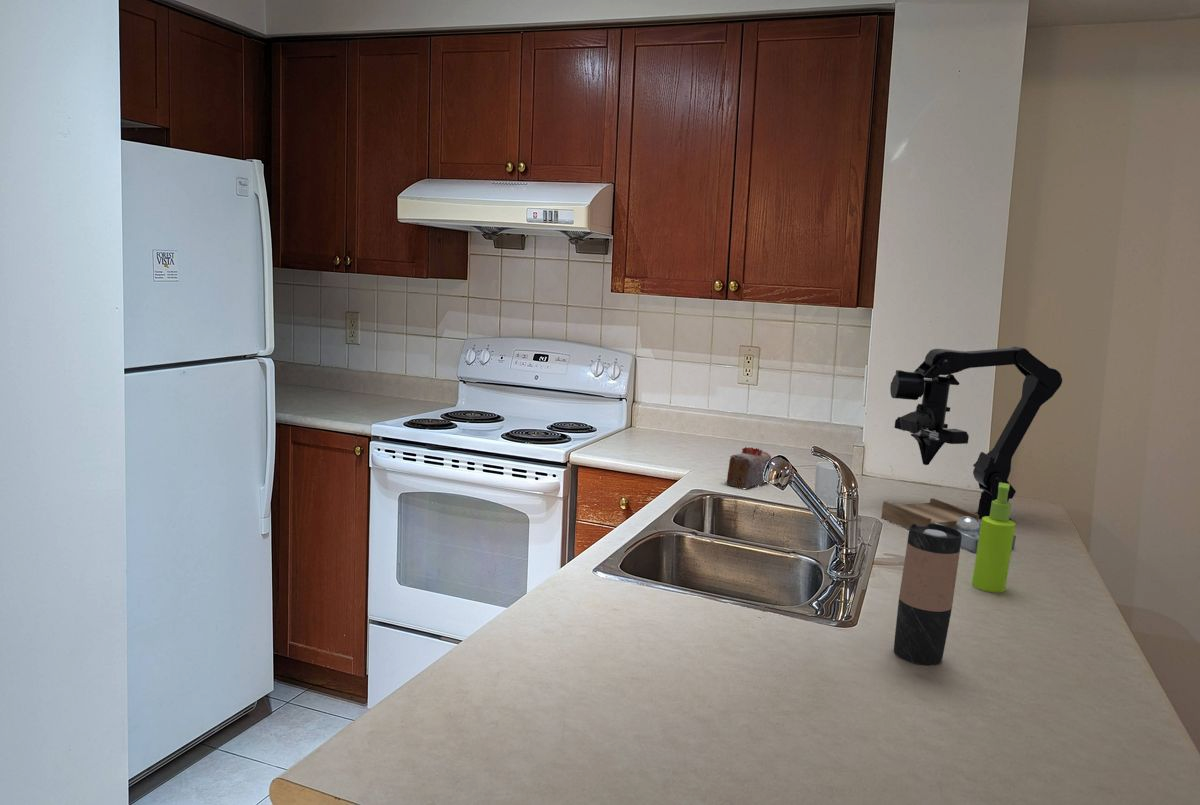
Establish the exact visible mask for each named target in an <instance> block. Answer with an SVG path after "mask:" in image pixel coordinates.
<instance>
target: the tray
mask: <svg viewBox="0 0 1200 805" xmlns="http://www.w3.org/2000/svg"><path fill="white" fill-rule="evenodd" d="M978 523H979V526H980V527H981V521H978ZM934 524H939V523H934ZM939 525H941V524H939ZM943 526H944V525H943ZM960 533H961V534H962V539H961V547H960V549H963V550H965V551H969V552H971V553H973V554H976V553H977V547H978V540H979V534H980V530H979V533H978V534H977V535H976V536H975V537H972V536H969V535H967V534H964V533H962V532H960ZM1016 537H1017V536H1016V535H1015V534H1014V537H1013V544H1012V550H1015V544H1016Z"/></svg>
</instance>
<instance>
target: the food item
mask: <svg viewBox="0 0 1200 805" xmlns="http://www.w3.org/2000/svg"><path fill="white" fill-rule="evenodd" d="M741 450H742V451H741V453H736V454H733V455H730V458H729V464H728V471H727V478H726V485H728V486H730V485H731V486H730V487H733V486H735V487H734V488H737V487H740V488H739V489H741V488H747V489H749V487H750V488H751V486H752V487H755V486H758V485H760V486H762V484H764V483H765V482H764V480H763V472H764V469H765V466H766V464H767V462H768V461H769V460H770V459H771V458H772V456H771V454H769V453H768V452H766V451H763V450H762V449H760V448H758V447H757V448H754V447H750V446H749V447H747V446H745V447H743V448H742V449H741Z"/></svg>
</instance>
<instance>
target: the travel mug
mask: <svg viewBox="0 0 1200 805" xmlns="http://www.w3.org/2000/svg"><path fill="white" fill-rule="evenodd" d="M961 539H962V534H961V533H960V532H959V531H957V530H955V529H953V528H950V527H947V526H943V525H939V524H928V525H927V526H917V525H916V524H915V523H914V524H911V525H910V528H909V529H908V536H907V541H906V549H905V555H904V563H903V567H902V568H903V570H902V576H901V583H900V587H899V588H900V590H899V595H898V601H897V602H898V604H897V611H896V612H897V613H896V620H895V621H896V622H895V623H896V624H895V632H894V644H893V653H894V654H895V656H897V657H898V658H900V659H902V660H903V661H906V662H909V663H912V664H915V665H919V666H920V665H921V666H937V665H939V664H941V663H942V661H943V658H944V652H945V646H946V642H947V636H948V630H949V626H950V625H949V624H950V621H951V616H952V615H951V614H952V608H953V603H954V597H955V596H954V595H955V588H956V580H957V575H958V566H959V559H960V552H961V551H960V550H961Z"/></svg>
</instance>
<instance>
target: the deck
mask: <svg viewBox="0 0 1200 805" xmlns="http://www.w3.org/2000/svg"><path fill="white" fill-rule="evenodd" d="M929 499H930V500H929V502H920V503H919V502H916V503H905V504H901V503H900V504H894V503H892V502H889V501H883V503H882V510H881V519H883V520H886V521H888V522H891V523H893V524H895V525H897V526H900V527H902V528H905V529H907V530H909V528H910V525H911V524H914V523H915V524H916V525H917V526H927V525H928V524H934V523H939V524H941V525H944V526H947V527H950V528H953V529H955V530H956V523H957V521H958V520H959V519H960V518H961V517H964V516H970V517H973V518H975V519H976V520H977V521H978V522H979V519H980V517H979V515H978V514H975V513H974V512H973V511H969V510H966V509H963V508H961V507H959V506H956V505H953V504H950V503H947V502H944V501H942V500H939V499H936V498H934V497H933V498H929Z"/></svg>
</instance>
